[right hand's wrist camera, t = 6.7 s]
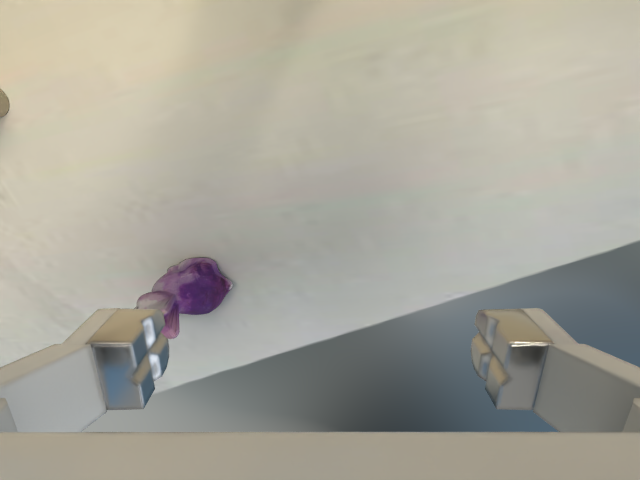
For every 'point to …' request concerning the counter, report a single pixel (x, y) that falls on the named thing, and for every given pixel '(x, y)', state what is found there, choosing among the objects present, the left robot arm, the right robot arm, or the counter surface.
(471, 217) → the counter surface
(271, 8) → the counter surface
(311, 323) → the counter surface
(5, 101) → the jar
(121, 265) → the counter surface
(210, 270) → the figurine
